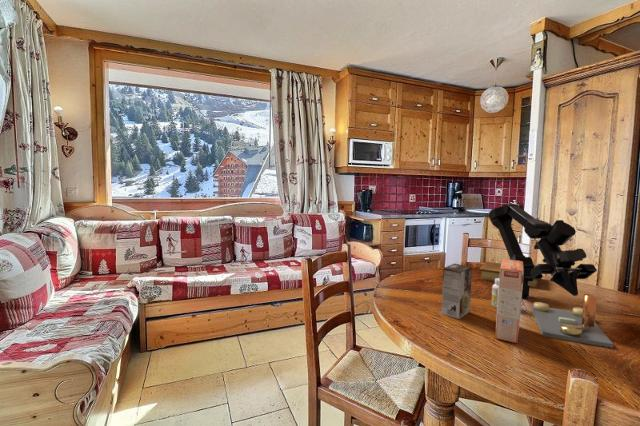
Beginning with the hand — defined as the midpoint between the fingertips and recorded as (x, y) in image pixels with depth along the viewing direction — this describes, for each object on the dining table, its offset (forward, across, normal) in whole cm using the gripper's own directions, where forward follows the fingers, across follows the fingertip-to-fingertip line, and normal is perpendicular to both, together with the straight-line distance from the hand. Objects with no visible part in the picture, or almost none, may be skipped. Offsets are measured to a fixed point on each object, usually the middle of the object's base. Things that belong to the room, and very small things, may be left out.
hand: (576, 295), depth 103 cm
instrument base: (+7, -2, +7) cm, 10 cm away
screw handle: (+11, -4, +1) cm, 11 cm away
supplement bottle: (-5, -14, +19) cm, 24 cm away
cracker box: (+10, -24, +4) cm, 26 cm away
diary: (-28, +11, +43) cm, 53 cm away
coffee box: (0, -33, +14) cm, 36 cm away
